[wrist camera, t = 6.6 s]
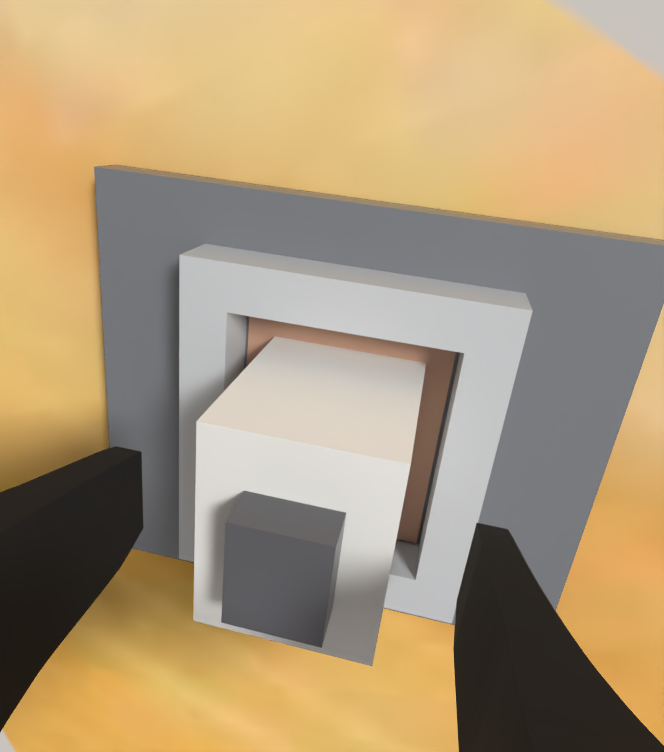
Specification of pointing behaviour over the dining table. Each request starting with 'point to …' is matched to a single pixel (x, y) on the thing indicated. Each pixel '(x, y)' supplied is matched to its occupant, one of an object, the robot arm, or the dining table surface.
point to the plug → (304, 495)
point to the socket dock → (380, 351)
